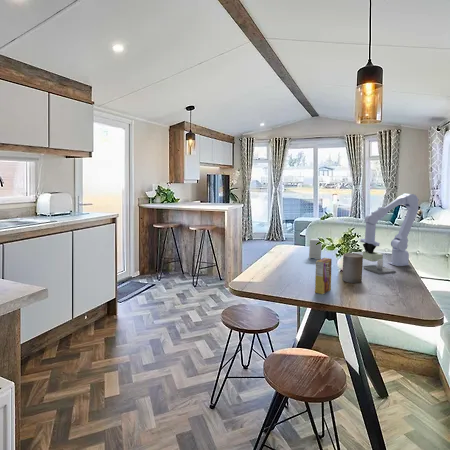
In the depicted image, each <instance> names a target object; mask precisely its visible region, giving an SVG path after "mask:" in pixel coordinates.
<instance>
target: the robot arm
mask: <svg viewBox="0 0 450 450" xmlns="http://www.w3.org/2000/svg"><path fill="white" fill-rule="evenodd" d="M419 200H420V199H419V197H418V196H417V195H416V194H414V193H406V192H405V193H403V194H400V195H398V197H396V198H395V199H394V200H392V201H391V202H389V203H388V204H387V205H386V206H379V207H377V209H375V210H374V211H371V212H370V213H369V214H367V215H366V216H365V218H364V222H365V233H364V234H365V235H364V238H360V239H359V240H360V241H359V242H360V243H363V244H362V247H363V249H364V252H368V253H370V254H373V251H375V249H376V248H377V247H380V244H381V243H380V242H378V241H376V228H377V224H378V222H379V220H381V219H383V218H384V217H386V216H387V215H388V213H389V212H390V211H391V210H393V209H395V208H396V207H398V206H400V205H404V206H405V208H406V209H407V212H406V213H405V216H404V218H403V222H402V224H401V226H400V229H399V230H398V233H397V234H396V235H395V236H394V238H393V239H391V242H390V245H391V247H392V249H391V262H387V264H389V265H393V266H396V267H404V266H410V264H409V259H410V258H409V257H410V254H409V251H407V249H408V246H409V245H408V243H409V238H408V236H409V234H410V231H411V229H412V227H413V224H414V222H415V219H416V218H417V217H416V216H417V215H418V212H419Z"/></svg>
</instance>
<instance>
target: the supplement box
mask: <svg viewBox="0 0 450 450" xmlns="http://www.w3.org/2000/svg"><path fill="white" fill-rule="evenodd" d="M319 239H320V238H309V248H308V249H309V250H308V251H309V253H308V257H309V258H316V259H315V260H320V259H322V243H320V244H318V245H316V244H317V243H318V242H320V241H319Z"/></svg>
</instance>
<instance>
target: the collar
mask: <svg viewBox="0 0 450 450" xmlns="http://www.w3.org/2000/svg"><path fill="white" fill-rule="evenodd" d="M362 255H363V260H366V261H370V262H378V259H382V260H383V258H384V256H383V255H384V254H383V253H380V252H377V251H375V250H374V251H373V254H370V253H368V252H365V251H363V252H362Z"/></svg>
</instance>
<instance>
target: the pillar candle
mask: <svg viewBox="0 0 450 450" xmlns="http://www.w3.org/2000/svg"><path fill="white" fill-rule="evenodd" d="M363 261H364V259H363V254H361V253H355V252H347V253H343V255H342V278H341V280H342V281H343V282H346V283H350V284H351V283H352V284H359V283H362V280H363V279H362V277H363Z"/></svg>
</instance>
